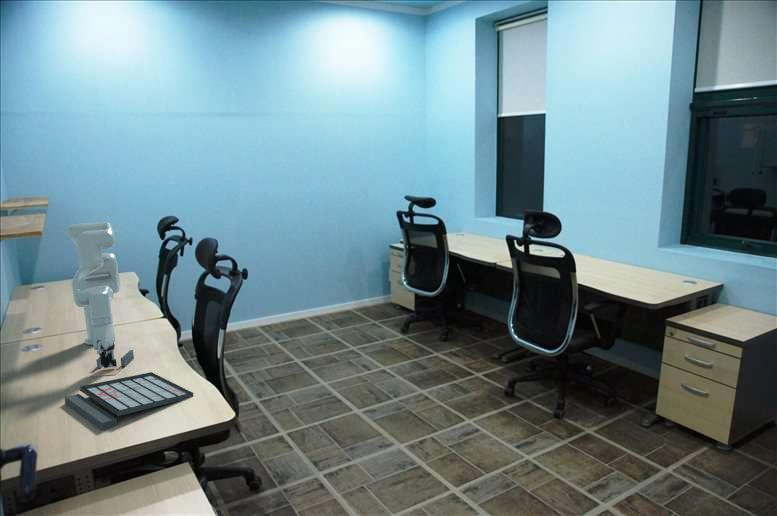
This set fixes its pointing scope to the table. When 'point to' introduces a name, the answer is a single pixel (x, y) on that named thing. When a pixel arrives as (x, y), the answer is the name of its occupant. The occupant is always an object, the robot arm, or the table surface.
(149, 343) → the table surface
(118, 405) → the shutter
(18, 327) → the table surface
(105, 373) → the mat
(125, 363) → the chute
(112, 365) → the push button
